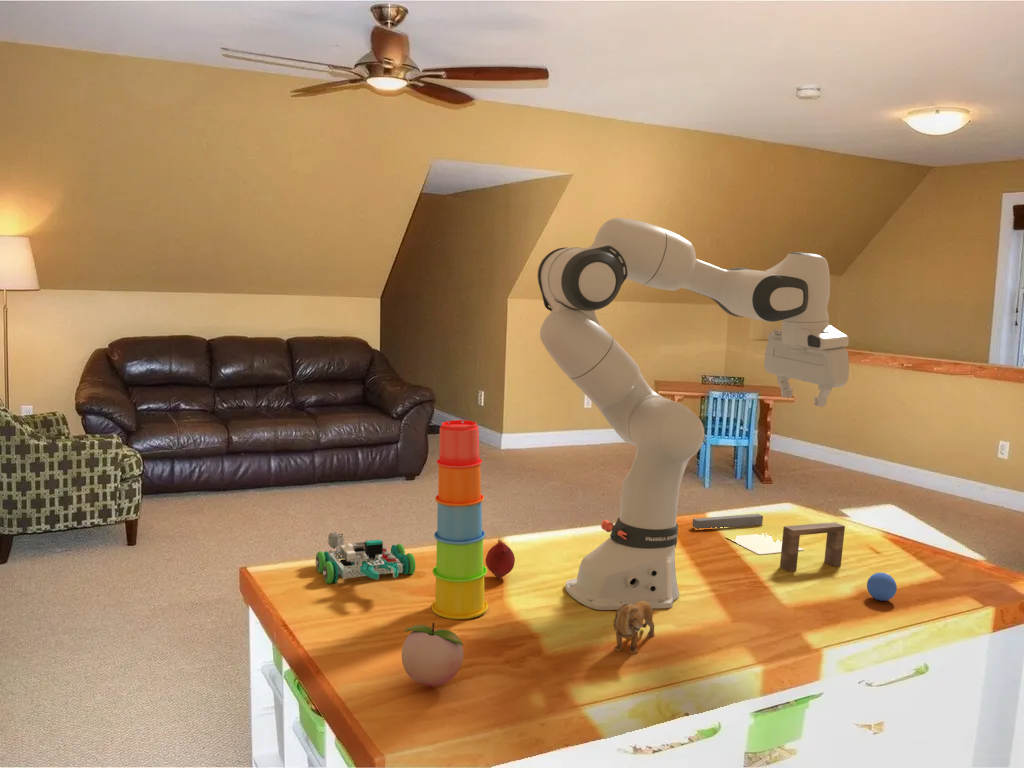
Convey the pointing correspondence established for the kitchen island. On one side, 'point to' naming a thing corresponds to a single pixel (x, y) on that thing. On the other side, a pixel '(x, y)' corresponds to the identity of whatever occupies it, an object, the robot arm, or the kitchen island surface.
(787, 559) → the bridge
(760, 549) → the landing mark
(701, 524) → the wall
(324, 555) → the robot kit
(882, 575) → the ball
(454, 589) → the stacking cups
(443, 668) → the decorative fruit
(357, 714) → the kitchen island surface
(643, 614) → the lion figurine
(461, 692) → the kitchen island surface
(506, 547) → the onion
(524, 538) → the kitchen island surface
